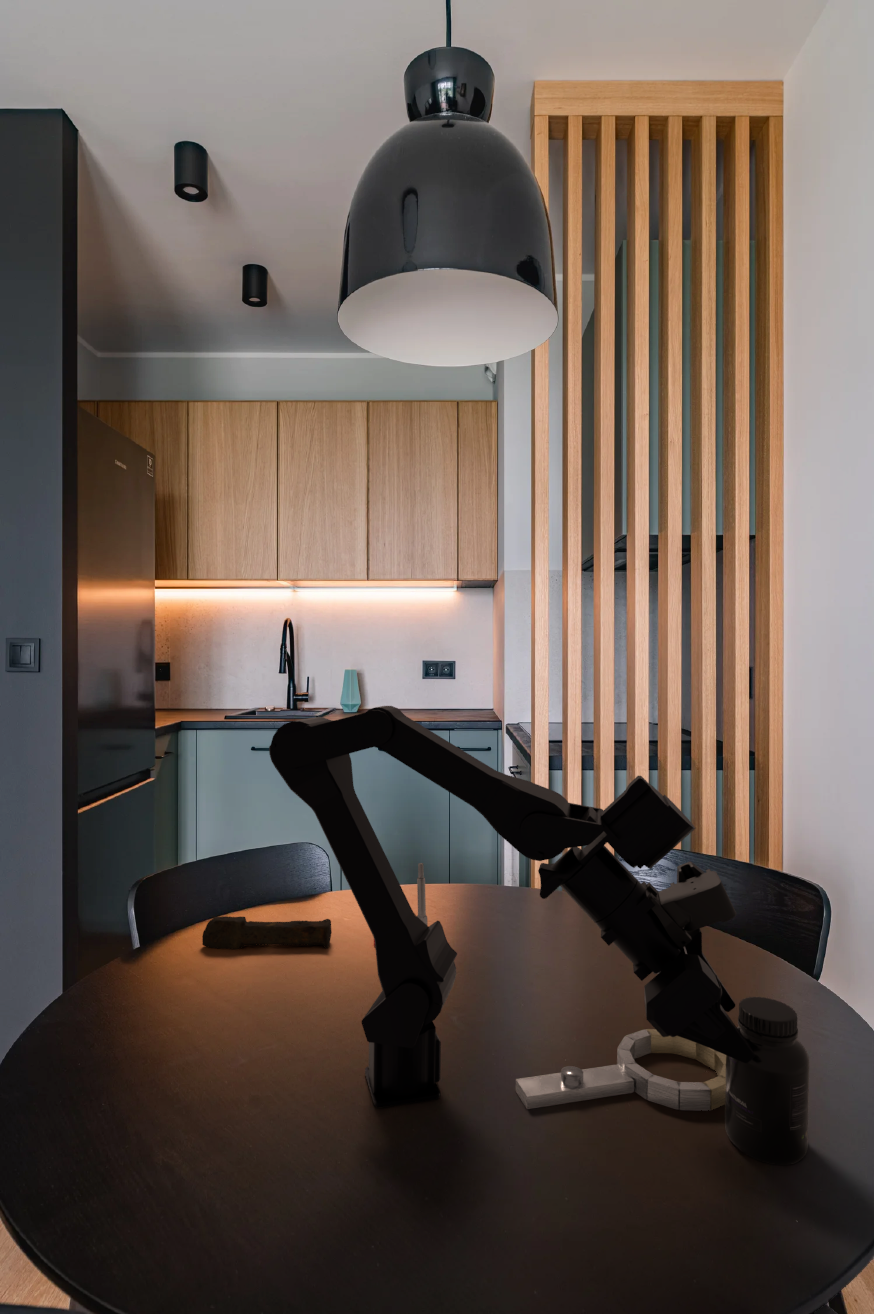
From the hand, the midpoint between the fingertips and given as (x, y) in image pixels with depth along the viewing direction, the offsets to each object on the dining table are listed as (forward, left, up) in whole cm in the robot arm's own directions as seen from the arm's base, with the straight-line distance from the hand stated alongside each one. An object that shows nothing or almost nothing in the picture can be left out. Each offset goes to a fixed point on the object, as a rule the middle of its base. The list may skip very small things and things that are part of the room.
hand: (740, 1032), depth 65 cm
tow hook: (-20, +51, -10) cm, 56 cm away
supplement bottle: (+2, -1, -10) cm, 10 cm away
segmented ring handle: (-8, +10, -9) cm, 16 cm away
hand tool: (-40, +54, -10) cm, 68 cm away
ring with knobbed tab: (+6, +10, -9) cm, 15 cm away
